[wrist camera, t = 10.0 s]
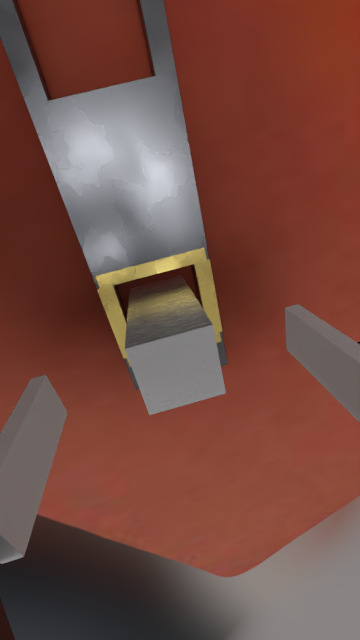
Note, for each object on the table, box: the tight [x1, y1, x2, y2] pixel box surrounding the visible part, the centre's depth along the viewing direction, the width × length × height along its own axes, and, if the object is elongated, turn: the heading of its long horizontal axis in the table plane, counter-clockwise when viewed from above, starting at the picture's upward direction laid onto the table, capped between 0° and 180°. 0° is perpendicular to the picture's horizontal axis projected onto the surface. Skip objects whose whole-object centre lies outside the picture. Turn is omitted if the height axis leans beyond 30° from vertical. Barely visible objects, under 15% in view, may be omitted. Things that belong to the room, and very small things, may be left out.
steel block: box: [125, 275, 226, 415], centre depth 18 cm, size 4×4×10 cm
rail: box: [0, 0, 228, 390], centre depth 18 cm, size 32×9×1 cm, turn 13°
